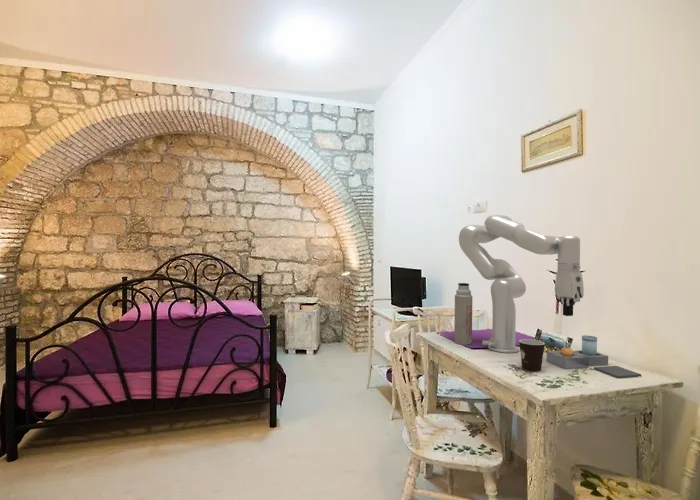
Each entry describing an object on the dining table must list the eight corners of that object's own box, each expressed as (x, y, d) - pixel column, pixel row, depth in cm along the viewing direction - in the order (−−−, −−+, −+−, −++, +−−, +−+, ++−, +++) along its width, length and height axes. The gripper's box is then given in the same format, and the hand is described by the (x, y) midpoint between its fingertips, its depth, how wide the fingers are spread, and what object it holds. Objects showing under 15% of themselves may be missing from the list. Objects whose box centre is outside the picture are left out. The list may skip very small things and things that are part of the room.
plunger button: (566, 359, 147) (566, 350, 147) (559, 356, 151) (559, 347, 151) (574, 359, 148) (574, 349, 148) (567, 356, 152) (567, 347, 152)
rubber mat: (617, 378, 134) (617, 376, 134) (593, 369, 144) (593, 367, 144) (641, 376, 136) (641, 374, 136) (616, 367, 146) (616, 365, 146)
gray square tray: (588, 366, 148) (588, 357, 148) (570, 359, 156) (570, 350, 156) (608, 364, 149) (608, 355, 149) (589, 358, 158) (589, 349, 158)
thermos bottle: (475, 343, 180) (476, 283, 180) (462, 345, 177) (463, 284, 176) (463, 339, 187) (463, 282, 187) (450, 341, 184) (451, 282, 183)
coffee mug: (545, 373, 138) (546, 346, 138) (519, 370, 141) (519, 343, 141) (541, 364, 149) (542, 338, 149) (517, 362, 152) (518, 336, 152)
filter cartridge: (588, 364, 150) (589, 338, 150) (578, 360, 155) (578, 335, 155) (600, 363, 151) (600, 338, 151) (589, 359, 156) (589, 335, 156)
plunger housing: (565, 369, 144) (565, 358, 144) (546, 361, 153) (546, 351, 153) (588, 367, 146) (588, 357, 146) (568, 359, 156) (568, 350, 155)
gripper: (592, 269, 143) (592, 318, 143) (562, 267, 157) (561, 312, 157) (575, 269, 141) (574, 319, 141) (546, 267, 156) (545, 312, 156)
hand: (567, 315), depth 149 cm, fingers closed
